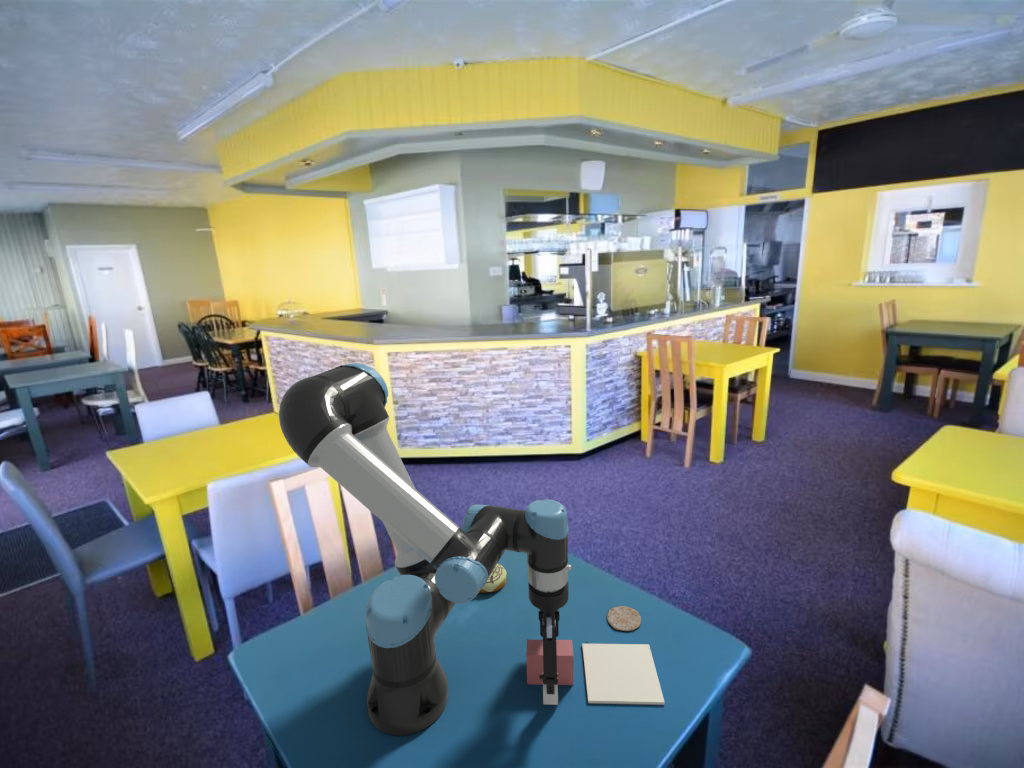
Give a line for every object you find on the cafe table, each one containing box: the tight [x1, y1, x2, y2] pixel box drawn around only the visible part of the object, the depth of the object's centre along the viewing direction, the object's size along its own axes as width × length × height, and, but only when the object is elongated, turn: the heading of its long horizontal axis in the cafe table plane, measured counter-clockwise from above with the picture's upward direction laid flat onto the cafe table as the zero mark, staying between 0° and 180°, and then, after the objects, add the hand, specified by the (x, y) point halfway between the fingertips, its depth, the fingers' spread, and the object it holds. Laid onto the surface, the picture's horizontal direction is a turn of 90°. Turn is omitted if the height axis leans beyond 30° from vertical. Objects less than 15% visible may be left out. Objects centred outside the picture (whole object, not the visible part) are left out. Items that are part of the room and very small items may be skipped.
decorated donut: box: [478, 562, 507, 594], centre depth 129 cm, size 10×11×4 cm
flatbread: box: [606, 605, 642, 632], centre depth 114 cm, size 8×8×1 cm
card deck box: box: [525, 638, 574, 686], centre depth 99 cm, size 9×4×7 cm, turn 87°
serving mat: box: [581, 643, 665, 706], centre depth 100 cm, size 14×14×1 cm
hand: (550, 673), depth 100 cm, fingers open, 13 cm apart
